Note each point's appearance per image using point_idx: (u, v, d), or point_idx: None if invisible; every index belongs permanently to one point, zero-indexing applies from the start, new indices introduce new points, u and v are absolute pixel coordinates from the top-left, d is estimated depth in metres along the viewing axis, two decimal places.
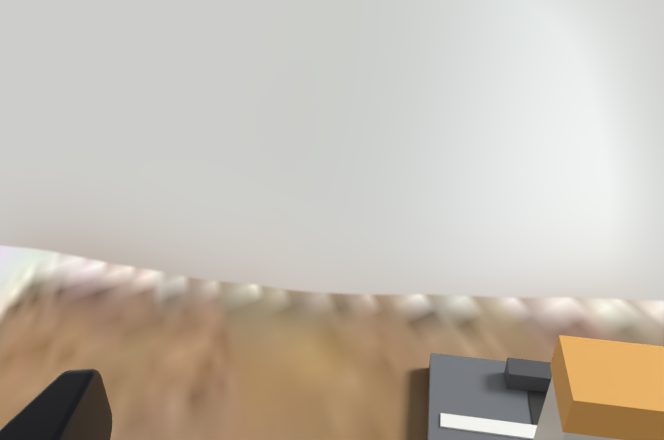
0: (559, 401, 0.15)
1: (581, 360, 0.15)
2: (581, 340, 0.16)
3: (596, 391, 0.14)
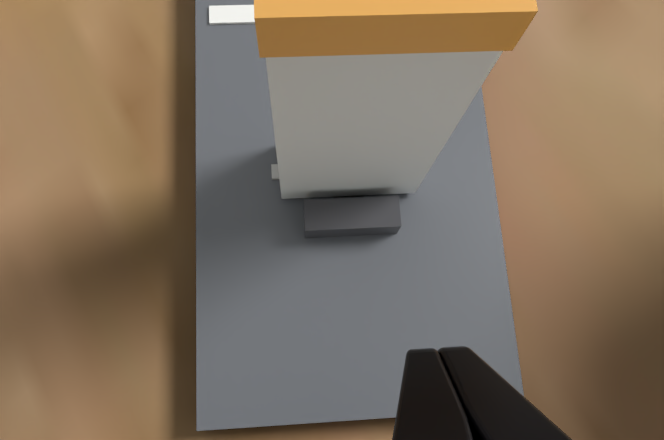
0: None
1: None
2: None
3: None
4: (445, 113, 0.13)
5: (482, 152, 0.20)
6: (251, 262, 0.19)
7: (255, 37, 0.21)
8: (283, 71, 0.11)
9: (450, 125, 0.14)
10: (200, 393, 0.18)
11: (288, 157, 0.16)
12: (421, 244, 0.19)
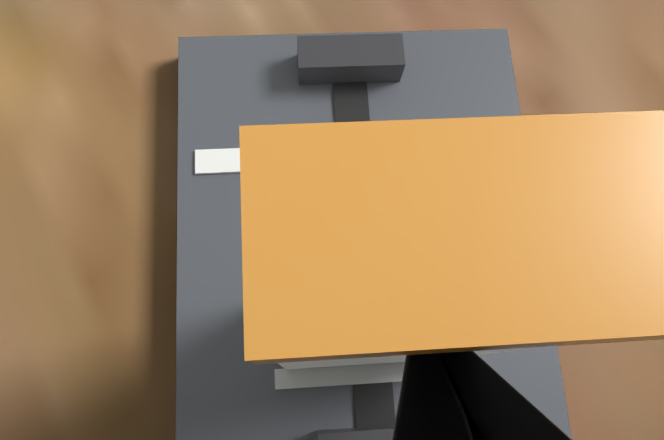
0: None
1: (287, 208, 0.05)
2: (301, 128, 0.06)
3: (312, 312, 0.05)
4: None
5: (547, 346, 0.16)
6: None
7: None
8: None
9: (528, 348, 0.10)
10: None
11: None
12: None
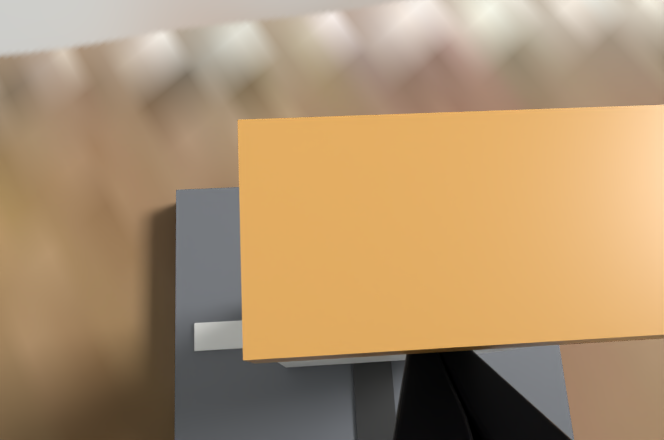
0: None
1: (286, 203, 0.05)
2: (301, 122, 0.06)
3: (312, 310, 0.05)
4: None
5: None
6: None
7: (258, 369, 0.15)
8: None
9: (530, 346, 0.10)
10: None
11: (296, 363, 0.11)
12: None
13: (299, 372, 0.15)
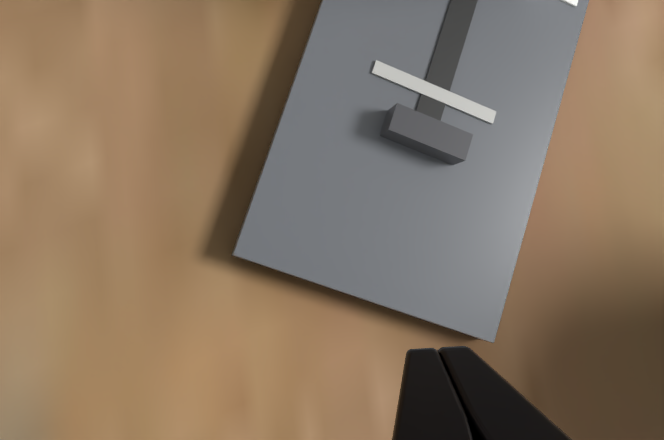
0: None
1: None
2: None
3: None
4: None
5: (546, 129, 0.23)
6: (328, 136, 0.21)
7: None
8: None
9: None
10: (247, 225, 0.20)
11: None
12: (468, 182, 0.22)
13: None
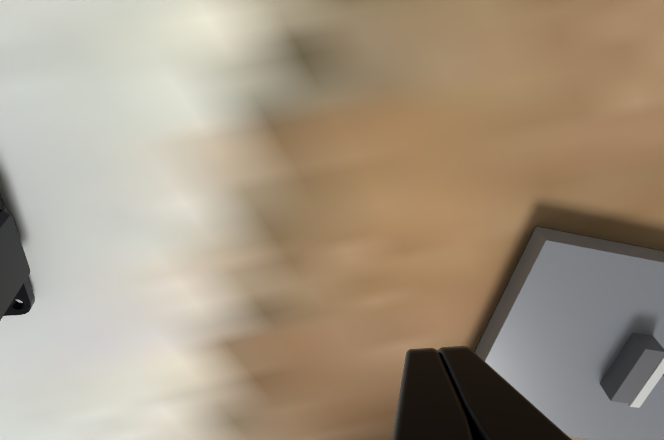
0: None
1: None
2: None
3: None
4: None
5: (618, 439, 0.28)
6: (638, 297, 0.24)
7: None
8: None
9: None
10: (569, 247, 0.22)
11: None
12: (583, 395, 0.26)
13: None
